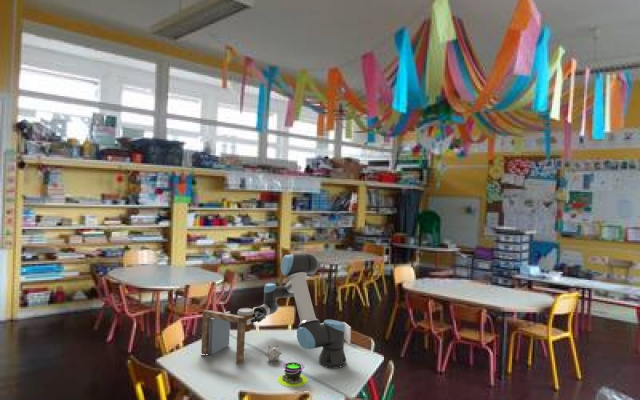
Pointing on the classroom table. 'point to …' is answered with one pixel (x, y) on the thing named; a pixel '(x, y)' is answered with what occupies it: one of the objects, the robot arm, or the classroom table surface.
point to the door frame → (227, 317)
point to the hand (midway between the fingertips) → (240, 321)
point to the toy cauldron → (292, 375)
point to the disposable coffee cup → (248, 314)
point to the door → (218, 334)
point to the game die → (273, 354)
